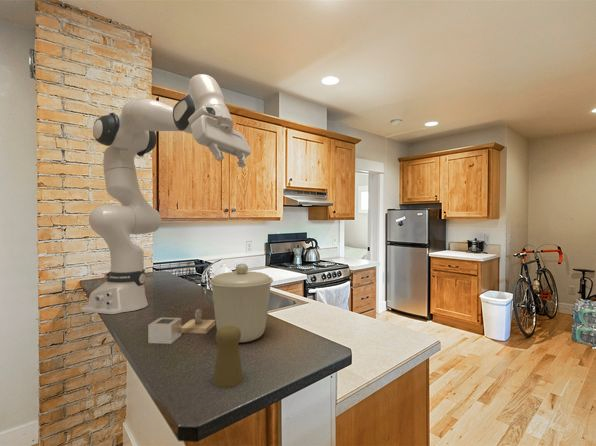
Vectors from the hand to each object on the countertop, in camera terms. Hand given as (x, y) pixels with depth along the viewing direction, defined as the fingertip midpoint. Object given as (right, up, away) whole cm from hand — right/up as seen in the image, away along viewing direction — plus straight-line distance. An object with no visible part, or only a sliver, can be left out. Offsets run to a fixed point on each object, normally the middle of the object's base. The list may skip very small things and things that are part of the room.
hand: (231, 163), depth 88 cm
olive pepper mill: (+4, -50, -23) cm, 55 cm away
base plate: (-12, -50, +8) cm, 52 cm away
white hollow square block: (-19, -50, 0) cm, 53 cm away
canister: (+2, -50, +2) cm, 50 cm away
